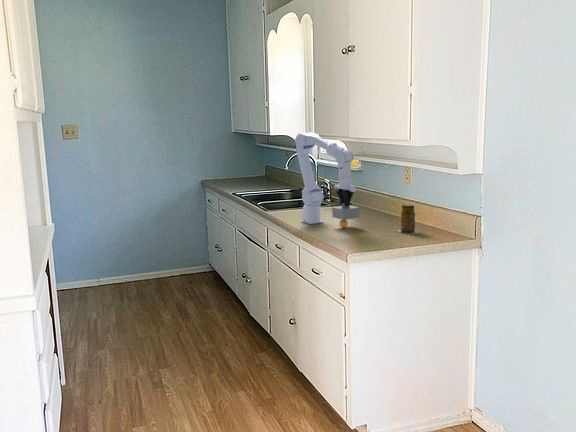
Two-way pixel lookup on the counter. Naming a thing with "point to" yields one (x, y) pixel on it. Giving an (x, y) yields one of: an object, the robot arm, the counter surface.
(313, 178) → the robot arm
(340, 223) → the ball
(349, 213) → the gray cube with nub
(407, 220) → the condiment
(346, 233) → the counter surface
